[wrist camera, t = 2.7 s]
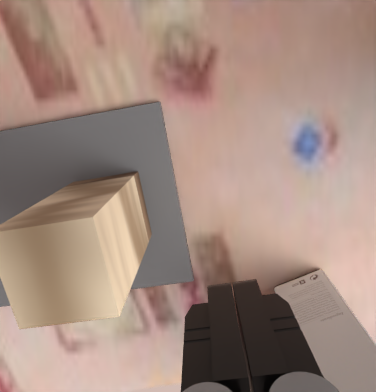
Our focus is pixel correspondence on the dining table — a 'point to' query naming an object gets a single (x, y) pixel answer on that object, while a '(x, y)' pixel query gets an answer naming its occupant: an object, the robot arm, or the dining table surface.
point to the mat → (101, 167)
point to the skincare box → (332, 332)
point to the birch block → (75, 252)
